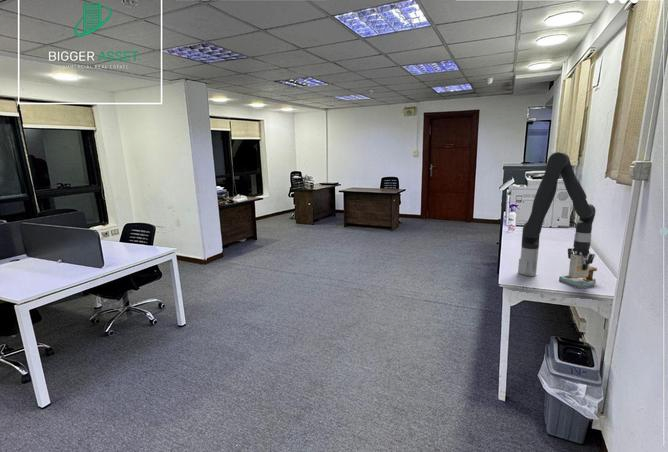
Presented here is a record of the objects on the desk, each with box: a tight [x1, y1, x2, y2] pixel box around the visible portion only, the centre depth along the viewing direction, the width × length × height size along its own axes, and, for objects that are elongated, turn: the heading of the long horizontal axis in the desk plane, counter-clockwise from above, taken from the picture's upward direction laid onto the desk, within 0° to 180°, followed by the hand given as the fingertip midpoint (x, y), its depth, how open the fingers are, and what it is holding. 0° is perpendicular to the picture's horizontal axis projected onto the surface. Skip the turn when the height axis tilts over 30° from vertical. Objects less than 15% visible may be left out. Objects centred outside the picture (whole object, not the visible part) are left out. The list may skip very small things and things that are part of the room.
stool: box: [582, 265, 598, 283], centre depth 193 cm, size 6×6×8 cm
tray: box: [558, 274, 596, 290], centre depth 190 cm, size 10×13×3 cm
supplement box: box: [568, 253, 591, 279], centre depth 189 cm, size 8×5×13 cm, turn 92°
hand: (578, 268), depth 189 cm, fingers closed on supplement box, 5 cm apart
